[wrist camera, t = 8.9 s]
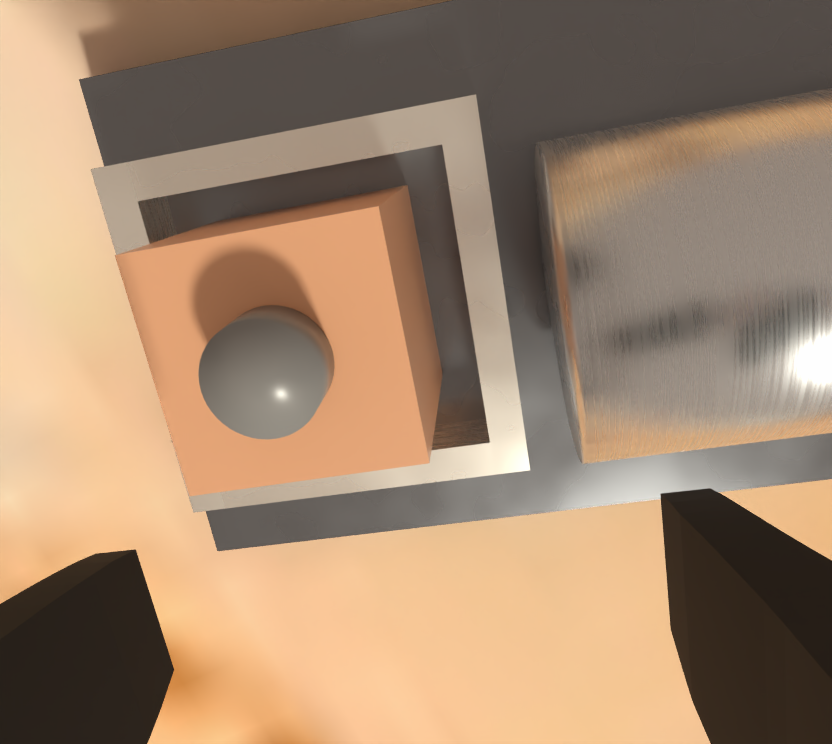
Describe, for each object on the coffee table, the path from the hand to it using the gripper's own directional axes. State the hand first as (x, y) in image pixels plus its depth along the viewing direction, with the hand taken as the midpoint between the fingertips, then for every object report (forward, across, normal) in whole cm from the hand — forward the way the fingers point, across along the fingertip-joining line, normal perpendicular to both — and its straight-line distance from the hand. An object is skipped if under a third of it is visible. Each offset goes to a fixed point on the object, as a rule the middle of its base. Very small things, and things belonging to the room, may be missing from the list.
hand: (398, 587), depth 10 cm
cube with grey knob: (+8, +2, -2) cm, 9 cm away
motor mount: (+9, -3, -2) cm, 10 cm away
